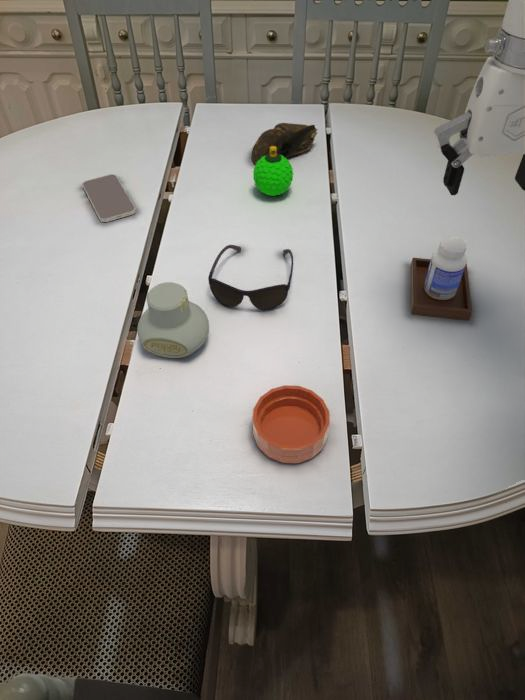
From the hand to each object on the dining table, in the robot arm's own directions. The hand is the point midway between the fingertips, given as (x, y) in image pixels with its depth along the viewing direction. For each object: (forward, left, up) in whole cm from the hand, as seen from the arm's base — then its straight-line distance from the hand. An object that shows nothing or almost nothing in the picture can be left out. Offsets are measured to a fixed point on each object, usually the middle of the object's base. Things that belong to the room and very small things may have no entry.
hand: (485, 187), depth 71 cm
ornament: (+40, -19, -23) cm, 50 cm away
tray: (+2, -3, -22) cm, 23 cm away
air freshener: (+37, +25, -23) cm, 50 cm away
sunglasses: (+32, +7, -23) cm, 40 cm away
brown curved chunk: (+45, -35, -23) cm, 61 cm away
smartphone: (+70, -3, -22) cm, 73 cm away
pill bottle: (+2, -3, -22) cm, 22 cm away
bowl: (+14, +33, -22) cm, 42 cm away
